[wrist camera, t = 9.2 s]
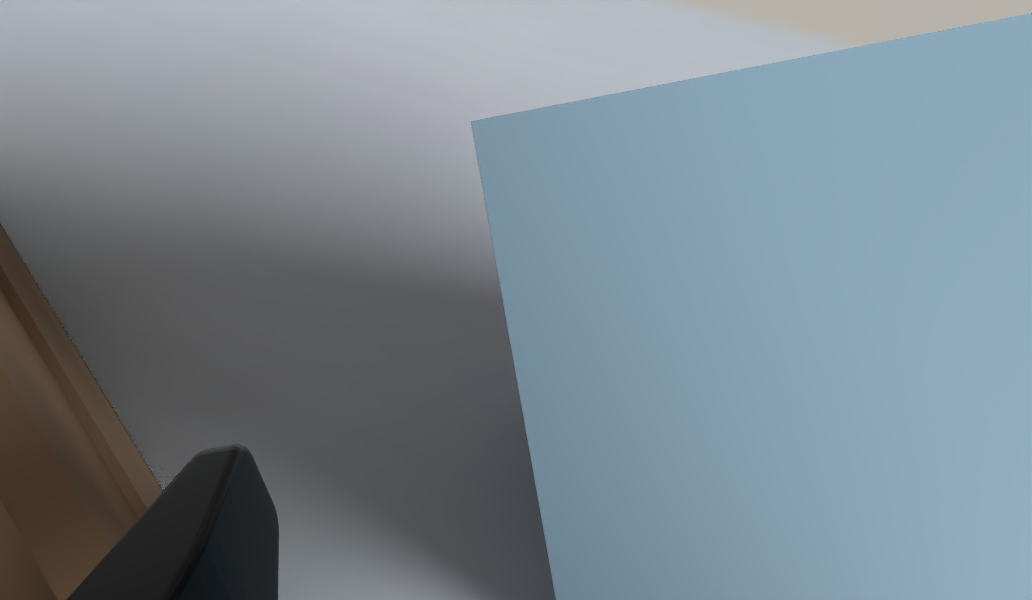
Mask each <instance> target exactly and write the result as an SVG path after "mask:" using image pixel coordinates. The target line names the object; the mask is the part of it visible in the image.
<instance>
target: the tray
mask: <svg viewBox="0 0 1032 600" xmlns="http://www.w3.org/2000/svg"><path fill="white" fill-rule="evenodd" d="M162 492H163V491H162V489H161V487H160V486H159V484H158V482H157V481H156V479H155V478H154V476H153V474H152V473H151V471H150V469H149V468H148V466H147V464H146V463H145V461H144V459H143V458H142V456H141V455H140V453H139V451H138V450H137V448H136V446H135V445H134V443H133V441H132V440H131V438H130V436H129V435H128V433H127V432H126V430H125V428H124V427H123V425H122V423H121V422H120V420H119V418H118V417H117V415H116V413H115V412H114V410H113V409H112V407H111V405H110V404H109V402H108V400H107V399H106V397H105V395H104V394H103V392H102V390H101V389H100V387H99V386H98V384H97V382H96V381H95V379H94V377H93V376H92V374H91V372H90V371H89V369H88V367H87V366H86V364H85V363H84V361H83V359H82V358H81V356H80V354H79V353H78V351H77V349H76V348H75V346H74V344H73V343H72V341H71V339H70V338H69V336H68V335H67V333H66V331H65V330H64V328H63V326H62V325H61V323H60V321H59V320H58V318H57V316H56V315H55V313H54V312H53V310H52V308H51V307H50V305H49V303H48V302H47V300H46V298H45V297H44V295H43V293H42V292H41V290H40V289H39V287H38V285H37V284H36V282H35V280H34V279H33V277H32V275H31V274H30V272H29V270H28V269H27V267H26V266H25V264H24V262H23V261H22V259H21V257H20V256H19V254H18V252H17V251H16V249H15V247H14V246H13V244H12V243H11V241H10V239H9V238H8V236H7V234H6V233H5V231H4V229H3V228H2V226H1V224H0V600H67V598H68V597H69V596H70V595H71V594H72V593H73V592H74V591H75V589H76V588H77V587H78V586H79V585H80V584H81V583H82V582H83V580H84V579H85V578H86V577H87V576H88V575H89V574H90V573H91V572H92V570H93V569H94V568H95V567H96V566H97V565H98V564H99V563H100V561H101V560H102V559H103V558H104V557H105V556H106V555H107V554H108V552H109V551H110V550H111V549H112V548H113V547H114V546H115V545H116V543H117V542H118V541H119V540H120V539H121V538H122V537H123V536H124V534H125V533H126V532H127V531H128V530H129V529H130V528H131V527H132V525H133V524H134V523H135V522H136V521H137V520H138V519H139V518H140V516H141V515H142V514H143V513H144V512H145V511H146V510H147V509H148V507H149V506H150V505H151V504H152V503H153V502H154V501H155V500H156V498H157V497H158V496H159V495H160V494H161V493H162Z"/></svg>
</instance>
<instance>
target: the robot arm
mask: <svg viewBox="0 0 1032 600" xmlns="http://www.w3.org/2000/svg"><path fill="white" fill-rule="evenodd" d="M278 562H279V526H278V518H277V513H276V509H275V506H274V504H273V501H272V499H271V497H270V494H269V492H268V490H267V488H266V485H265V483H264V481H263V479H262V476H261V474H260V472H259V470H258V467H257V465H256V463H255V461H254V458H253V456H252V455H251V453H250V451H249V450H248V449H247V448H246V447H245V446H242V445H239V444H236V445H230V446H224V447H219V448H213V449H208V450H204V451H201V452H199V453H198V454H196V455H195V456H194V457H193V458H192V459H191V460H190V461H189V463H188V464H187V465H186V466H185V467H184V468H183V469H182V470H181V472H180V473H179V474H178V475H177V476H176V477H175V478H174V479H173V481H172V482H171V483H170V484H169V485H168V486H167V487H166V488H165V489H164V491H163V492H162V493H161V494H160V495H159V496H158V497H157V498H156V500H155V501H154V502H153V503H152V504H151V505H150V506H149V507H148V509H147V510H146V511H145V512H144V513H143V514H142V515H141V516H140V518H139V519H138V520H137V521H136V522H135V523H134V524H133V525H132V527H131V528H130V529H129V530H128V531H127V532H126V533H125V534H124V536H123V537H122V538H121V539H120V540H119V541H118V542H117V543H116V545H115V546H114V547H113V548H112V549H111V550H110V551H109V552H108V554H107V555H106V556H105V557H104V558H103V559H102V560H101V561H100V563H99V564H98V565H97V566H96V567H95V568H94V569H93V570H92V572H91V573H90V574H89V575H88V576H87V577H86V578H85V579H84V580H83V582H82V583H81V584H80V585H79V586H78V587H77V588H76V589H75V591H74V592H73V593H72V594H71V595H70V596H69V597H68V598H67V600H278Z"/></svg>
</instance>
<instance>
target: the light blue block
mask: <svg viewBox="0 0 1032 600" xmlns="http://www.w3.org/2000/svg"><path fill="white" fill-rule="evenodd" d="M471 125H472V131H473V136H474V142H475V148H476V153H477V159H478V165H479V170H480V176H481V181H482V187H483V193H484V198H485V204H486V210H487V215H488V221H489V226H490V232H491V238H492V243H493V249H494V255H495V260H496V266H497V271H498V277H499V283H500V288H501V294H502V300H503V305H504V311H505V316H506V322H507V328H508V333H509V339H510V345H511V350H512V356H513V361H514V367H515V373H516V378H517V384H518V390H519V395H520V401H521V406H522V412H523V418H524V423H525V429H526V435H527V440H528V446H529V451H530V457H531V463H532V468H533V474H534V480H535V485H536V491H537V496H538V502H539V508H540V513H541V519H542V525H543V530H544V536H545V541H546V547H547V553H548V558H549V564H550V569H551V575H552V581H553V586H554V592H555V598H556V600H1032V13H1031V14H1026V15H1021V16H1016V17H1010V18H1005V19H1000V20H995V21H990V22H984V23H979V24H974V25H969V26H964V27H959V28H953V29H948V30H943V31H938V32H933V33H928V34H922V35H917V36H912V37H907V38H901V39H896V40H892V41H886V42H881V43H875V44H870V45H865V46H860V47H855V48H850V49H844V50H839V51H834V52H829V53H824V54H818V55H813V56H808V57H803V58H798V59H792V60H787V61H782V62H777V63H772V64H767V65H761V66H756V67H751V68H746V69H741V70H735V71H730V72H725V73H720V74H715V75H710V76H704V77H699V78H694V79H689V80H684V81H678V82H673V83H668V84H663V85H658V86H652V87H647V88H642V89H637V90H632V91H627V92H621V93H616V94H611V95H606V96H601V97H595V98H590V99H585V100H580V101H575V102H570V103H564V104H559V105H554V106H549V107H544V108H538V109H533V110H528V111H523V112H518V113H512V114H507V115H502V116H497V117H492V118H487V119H481V120H476V121H471Z"/></svg>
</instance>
